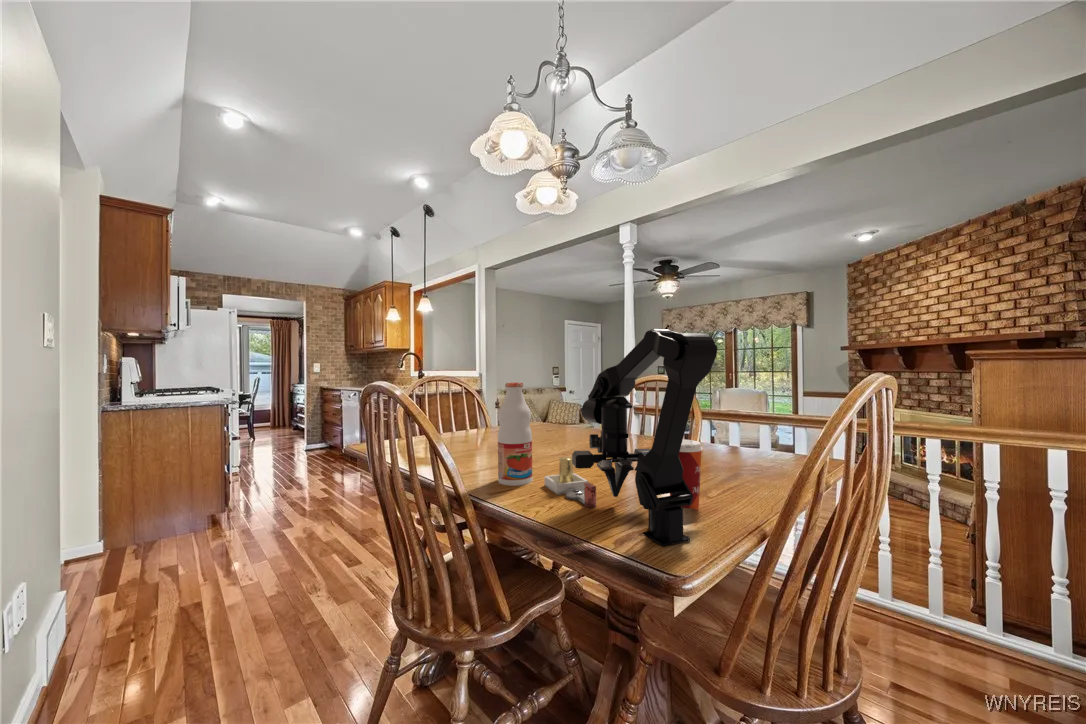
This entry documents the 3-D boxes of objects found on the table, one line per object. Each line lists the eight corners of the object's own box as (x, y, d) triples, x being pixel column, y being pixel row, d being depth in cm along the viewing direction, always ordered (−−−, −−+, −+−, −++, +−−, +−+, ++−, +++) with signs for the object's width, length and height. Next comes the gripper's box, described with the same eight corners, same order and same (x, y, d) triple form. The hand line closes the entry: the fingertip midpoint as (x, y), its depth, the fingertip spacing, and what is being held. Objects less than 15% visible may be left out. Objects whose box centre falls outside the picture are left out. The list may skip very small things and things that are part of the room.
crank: (562, 494, 104) (562, 475, 104) (581, 492, 106) (580, 472, 106) (583, 510, 93) (583, 488, 93) (604, 507, 95) (603, 485, 95)
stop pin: (575, 486, 109) (576, 459, 109) (563, 488, 107) (563, 460, 107) (568, 483, 112) (569, 456, 112) (556, 484, 110) (557, 457, 110)
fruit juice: (517, 478, 124) (516, 381, 124) (539, 484, 117) (538, 382, 117) (491, 484, 117) (490, 383, 117) (512, 492, 110) (511, 384, 110)
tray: (588, 490, 107) (588, 481, 107) (557, 495, 104) (556, 484, 104) (574, 482, 115) (574, 472, 115) (544, 485, 112) (544, 476, 112)
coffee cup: (709, 514, 92) (708, 445, 92) (671, 514, 93) (670, 445, 93) (696, 501, 101) (695, 438, 101) (661, 502, 101) (660, 438, 101)
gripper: (642, 421, 105) (643, 484, 105) (568, 423, 103) (568, 487, 103) (659, 428, 94) (660, 498, 94) (575, 430, 92) (576, 502, 92)
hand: (615, 496), depth 96 cm, fingers closed
